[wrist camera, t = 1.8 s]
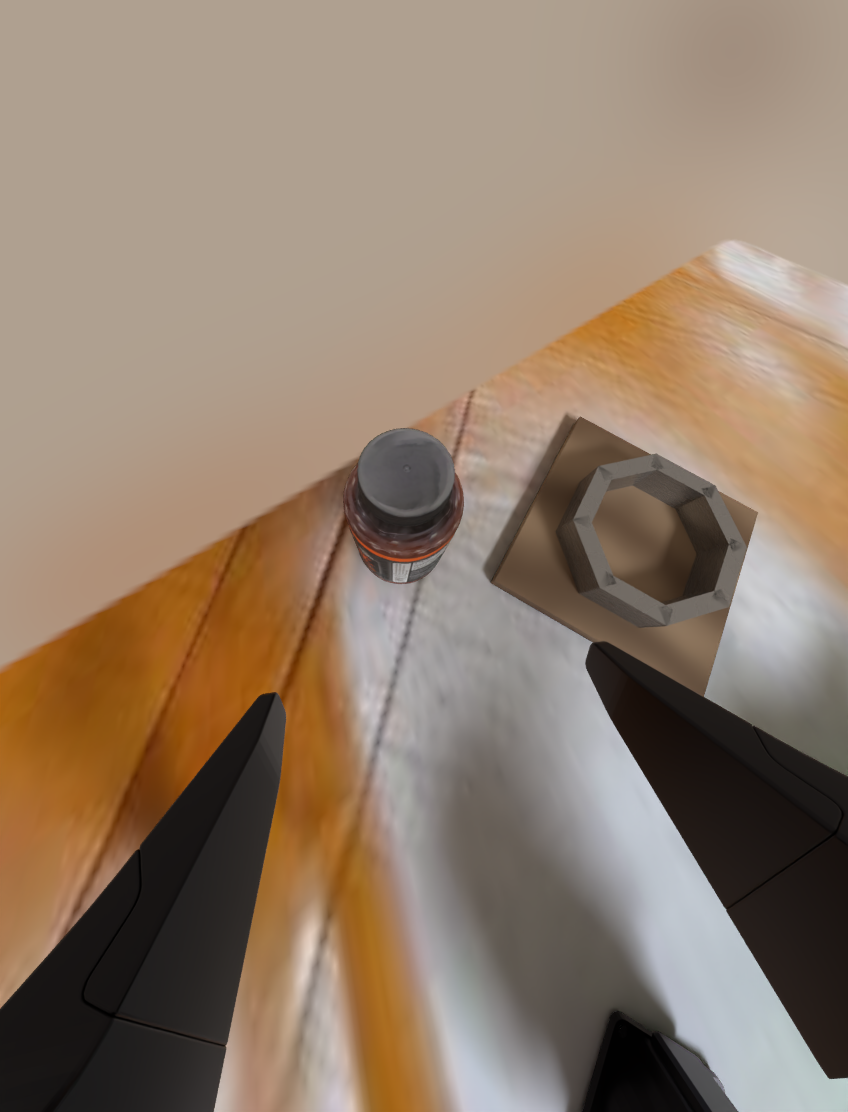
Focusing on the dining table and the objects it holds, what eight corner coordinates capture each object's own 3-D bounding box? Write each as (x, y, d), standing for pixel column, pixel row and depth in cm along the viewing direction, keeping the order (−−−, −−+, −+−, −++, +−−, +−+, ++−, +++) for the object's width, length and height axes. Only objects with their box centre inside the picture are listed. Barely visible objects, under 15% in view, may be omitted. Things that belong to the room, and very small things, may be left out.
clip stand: (689, 698, 23) (702, 700, 22) (490, 582, 24) (494, 580, 23) (745, 516, 27) (757, 512, 26) (573, 424, 28) (580, 416, 27)
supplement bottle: (346, 526, 24) (307, 430, 13) (420, 496, 25) (439, 386, 14) (379, 600, 23) (366, 562, 12) (455, 565, 24) (505, 502, 13)
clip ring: (681, 652, 23) (715, 654, 20) (536, 569, 23) (552, 561, 21) (724, 520, 26) (758, 508, 23) (594, 450, 26) (614, 430, 24)
